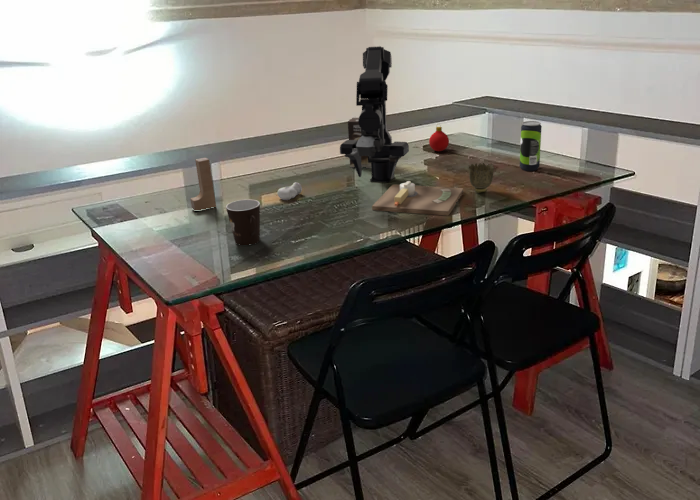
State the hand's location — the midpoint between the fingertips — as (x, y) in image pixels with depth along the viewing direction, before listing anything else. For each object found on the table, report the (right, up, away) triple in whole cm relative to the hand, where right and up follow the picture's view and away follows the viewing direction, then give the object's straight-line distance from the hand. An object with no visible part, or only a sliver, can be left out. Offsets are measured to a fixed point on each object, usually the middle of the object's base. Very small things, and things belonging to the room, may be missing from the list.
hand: (375, 177), depth 191 cm
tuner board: (+13, -6, +5) cm, 15 cm away
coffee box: (-2, +8, +42) cm, 42 cm away
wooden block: (-51, -9, +9) cm, 52 cm away
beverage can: (+51, +6, +27) cm, 58 cm away
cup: (+32, -4, +9) cm, 33 cm away
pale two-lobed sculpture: (-25, -5, +15) cm, 30 cm away
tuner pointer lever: (+8, -6, +3) cm, 10 cm away
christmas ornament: (+25, +15, +53) cm, 61 cm away
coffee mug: (-34, -19, -17) cm, 43 cm away
